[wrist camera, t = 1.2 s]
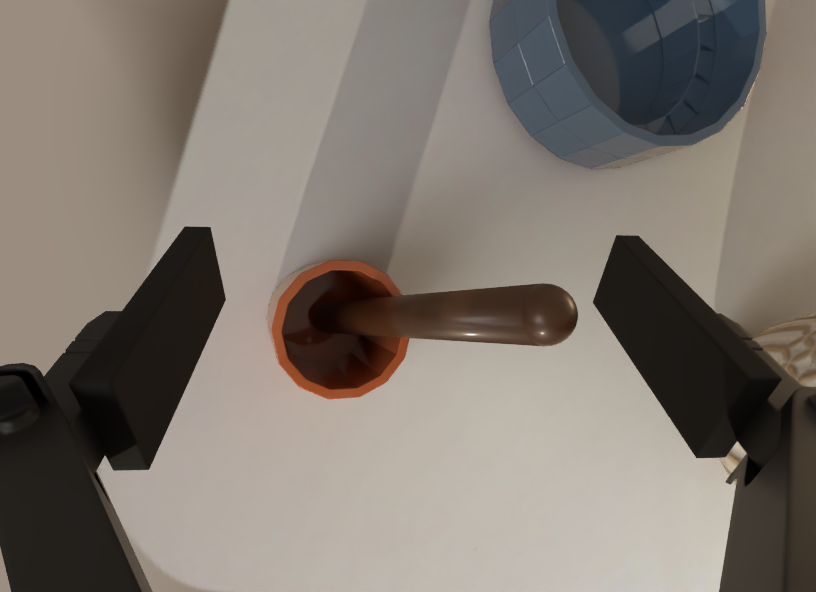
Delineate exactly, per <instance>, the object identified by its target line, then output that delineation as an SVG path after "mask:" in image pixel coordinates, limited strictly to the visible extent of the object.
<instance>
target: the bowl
mask: <svg viewBox="0 0 816 592" xmlns="http://www.w3.org/2000/svg"><path fill="white" fill-rule="evenodd" d="M489 22H490V34H491V45H492V56H493V64H494V68H495V70H496V73H497V76H498V78H499V81H500V84H501V87H502V89H503V92H504V95H505V97H506V100H507V103H508V105H509V106H510V108H511V109H512V111H513V112H514V113H515V115H516V116H517V118H518V119H519V120H520V122H521V123H522V125H523V126H524V127H525V129H526V130H527V132H528V133H529V135H530V136H532V137H533V138H534V139H535V140H537V141H538V142H539V143H540V144H542V145H543V146H544V147H546V148H547V149H548V150H549V151H551V152H552V153H553V154H555V155H556V156H557V157H559V158H560V159H563V160H566V161H569V162H572V163H575V164H578V165H581V166H584V167H587V168H590V169H596V168H616V167H622V166H625V165H628V164H632V163H635V162H638V161H642V160H645V159H648V158H652V157H655V156H658V155H661V154H665V153H668V152H671V151H674V150H678V149H681V148H684V147H688V146H691V145H693V144H696V143H698V142H700V141H702V140H704V139H706V138H708V137H710V136H712V135H714V134H716V133H718V132H720V131H721V130H722V129H723V128H724V127H725V126H726V125H727V124H728V123H729V122H730V121H731V119H732V118H733V117H734V116H735V115H736V114H737V113H738V112H739V111H740V110H741V108H742V107H743V106H744V105H745V103H746V101H747V98H748V96H749V94H750V92H751V90H752V87H753V85H754V83H755V81H756V79H757V76H758V74H759V71H760V68H761V62H762V56H763V51H764V45H765V39H766V33H767V32H766V11H765V0H493V5H492V11H491V16H490V21H489Z"/></svg>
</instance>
